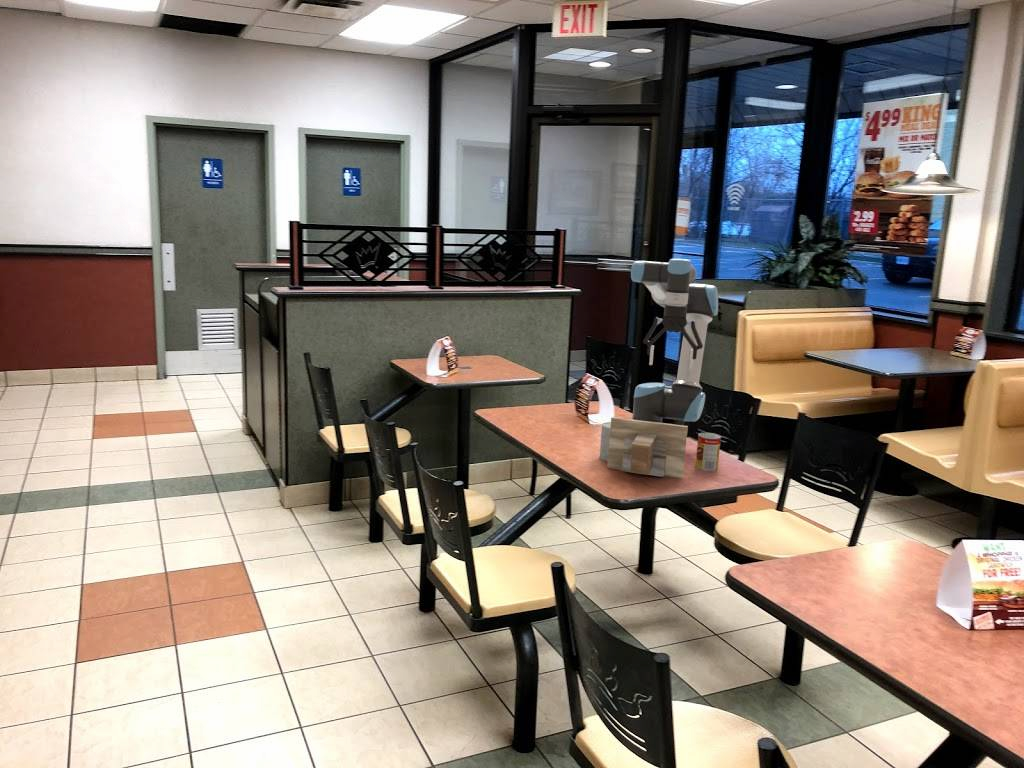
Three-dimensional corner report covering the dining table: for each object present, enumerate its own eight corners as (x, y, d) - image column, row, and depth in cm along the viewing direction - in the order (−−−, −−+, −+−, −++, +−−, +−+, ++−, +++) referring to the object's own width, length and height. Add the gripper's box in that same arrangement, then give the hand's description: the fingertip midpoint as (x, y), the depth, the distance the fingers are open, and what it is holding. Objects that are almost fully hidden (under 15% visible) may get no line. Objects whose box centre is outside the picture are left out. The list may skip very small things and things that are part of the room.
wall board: (608, 466, 292) (612, 417, 289) (683, 477, 285) (687, 426, 281) (604, 471, 286) (608, 420, 283) (680, 482, 279) (685, 430, 275)
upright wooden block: (636, 460, 287) (638, 432, 284) (654, 462, 285) (656, 435, 282) (629, 473, 274) (631, 444, 272) (647, 475, 273) (649, 447, 270)
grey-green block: (624, 463, 297) (627, 430, 295) (598, 460, 299) (600, 427, 297) (626, 456, 307) (629, 423, 304) (600, 453, 308) (603, 421, 306)
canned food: (712, 464, 301) (715, 432, 299) (721, 471, 294) (724, 438, 291) (691, 464, 300) (694, 432, 297) (700, 471, 292) (703, 438, 290)
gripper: (637, 302, 282) (632, 364, 286) (712, 308, 274) (706, 371, 279) (641, 301, 289) (636, 361, 293) (714, 306, 281) (708, 368, 286)
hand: (670, 366), depth 286 cm, fingers open, 13 cm apart
